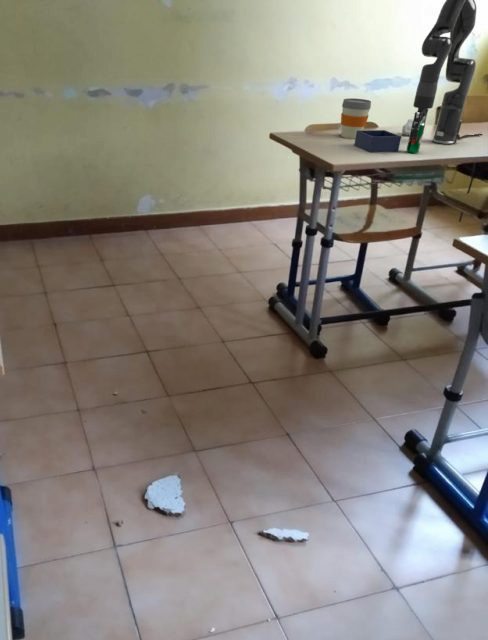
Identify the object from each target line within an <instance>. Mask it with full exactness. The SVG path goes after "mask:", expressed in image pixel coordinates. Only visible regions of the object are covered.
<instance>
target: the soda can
mask: <svg viewBox="0 0 488 640" xmlns="http://www.w3.org/2000/svg"><path fill="white" fill-rule="evenodd" d="M412 124H413V123H412ZM416 126H417V125H416ZM425 127H426V121H425V122H424V121H423V123H422V125H420V127H419V130H418V135H417V139H416V140H412V139H411V135H412V131H413V129H412V127H411V132H410V136H409V135H408V136H409V137H408V141H407V146H406V152H407V153H409V154H418V153H419V152H420V148H421V145H422V139H423V136H424V131H425Z"/></svg>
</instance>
